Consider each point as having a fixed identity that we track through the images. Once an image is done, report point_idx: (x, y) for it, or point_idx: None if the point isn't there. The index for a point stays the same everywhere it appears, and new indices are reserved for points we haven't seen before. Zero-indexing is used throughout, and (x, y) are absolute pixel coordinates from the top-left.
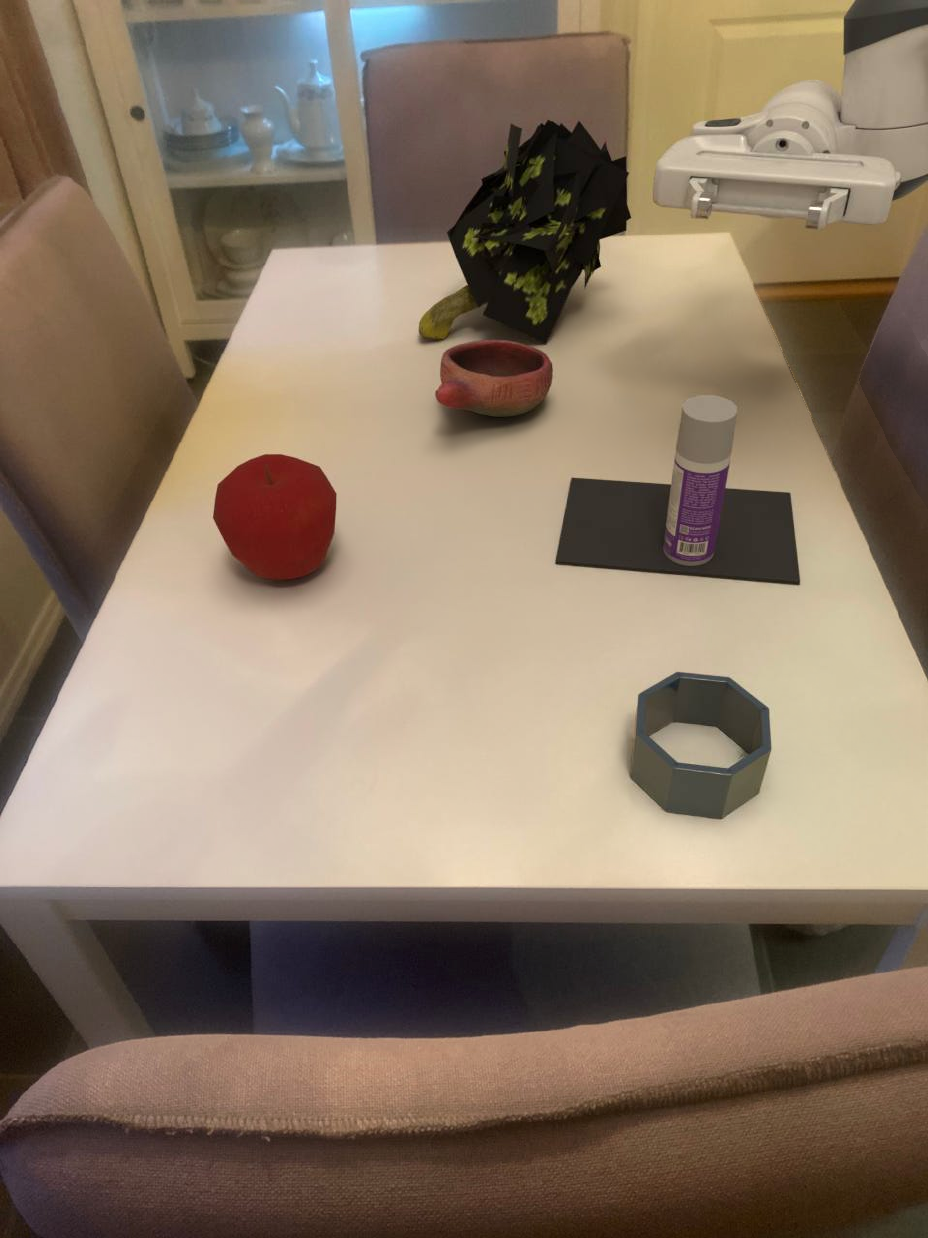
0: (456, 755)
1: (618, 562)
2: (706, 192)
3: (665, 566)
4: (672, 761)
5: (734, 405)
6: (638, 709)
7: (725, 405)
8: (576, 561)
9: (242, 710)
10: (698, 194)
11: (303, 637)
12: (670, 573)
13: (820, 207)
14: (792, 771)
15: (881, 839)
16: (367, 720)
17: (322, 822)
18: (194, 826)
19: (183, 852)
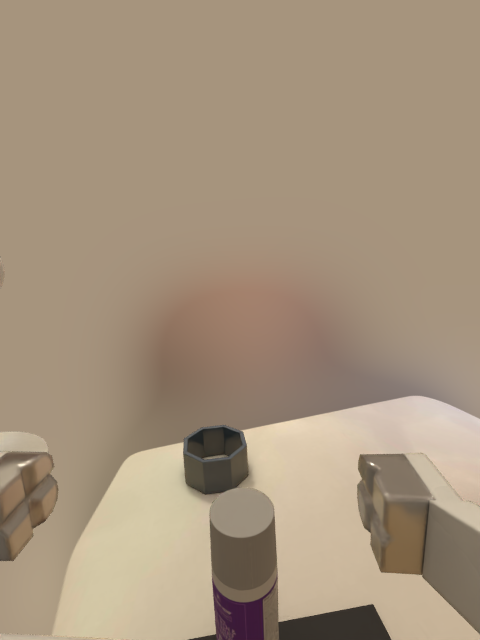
0: (322, 450)
1: (314, 622)
2: (412, 492)
3: None
4: (225, 426)
5: (213, 520)
6: (244, 439)
7: (224, 518)
8: (354, 610)
9: (430, 444)
10: (423, 469)
11: (461, 482)
12: None
13: (11, 453)
14: (169, 479)
15: (136, 463)
16: (373, 453)
17: (349, 422)
18: (387, 412)
19: (381, 407)
